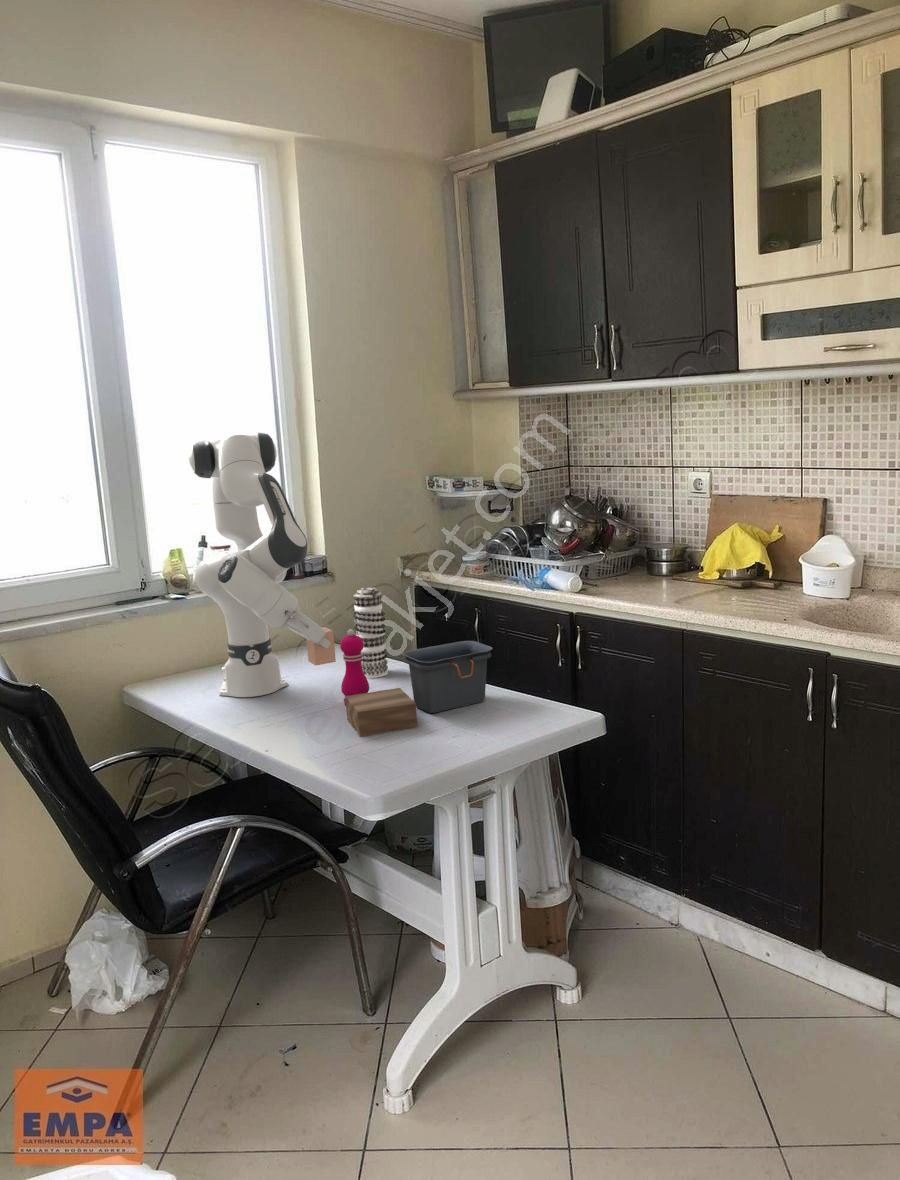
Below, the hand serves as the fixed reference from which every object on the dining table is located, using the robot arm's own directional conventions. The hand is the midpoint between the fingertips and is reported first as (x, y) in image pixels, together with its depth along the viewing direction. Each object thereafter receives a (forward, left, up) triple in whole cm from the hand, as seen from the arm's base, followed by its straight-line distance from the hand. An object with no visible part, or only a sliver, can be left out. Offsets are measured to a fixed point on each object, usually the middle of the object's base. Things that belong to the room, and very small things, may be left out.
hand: (323, 643), depth 224 cm
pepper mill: (-16, +10, -22) cm, 29 cm away
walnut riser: (+2, +12, -21) cm, 25 cm away
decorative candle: (-42, +21, -22) cm, 52 cm away
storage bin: (-3, +32, -22) cm, 39 cm away
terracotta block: (0, -1, -4) cm, 4 cm away
